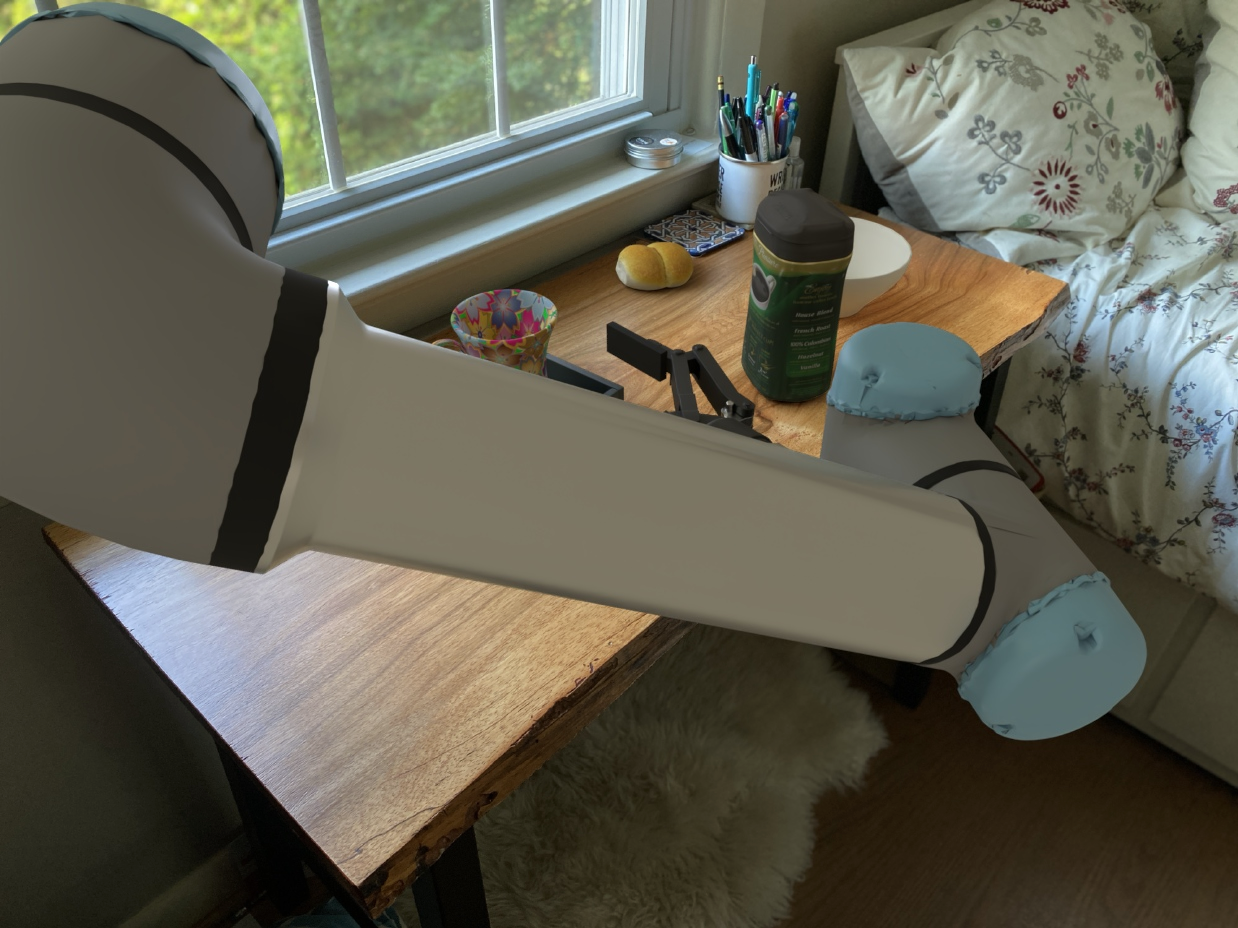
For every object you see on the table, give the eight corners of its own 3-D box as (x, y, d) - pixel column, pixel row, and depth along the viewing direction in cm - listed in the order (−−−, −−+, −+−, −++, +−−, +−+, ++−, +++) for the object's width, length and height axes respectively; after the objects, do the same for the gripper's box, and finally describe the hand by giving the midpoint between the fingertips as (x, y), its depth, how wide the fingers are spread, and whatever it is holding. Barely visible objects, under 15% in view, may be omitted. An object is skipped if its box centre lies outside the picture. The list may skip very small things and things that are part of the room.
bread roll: (703, 285, 109) (705, 254, 106) (630, 297, 107) (630, 265, 104) (677, 255, 115) (678, 225, 112) (608, 266, 113) (607, 235, 110)
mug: (543, 377, 92) (537, 281, 86) (577, 428, 86) (573, 328, 79) (424, 405, 89) (408, 306, 82) (450, 460, 82) (434, 358, 75)
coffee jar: (841, 399, 90) (873, 218, 79) (765, 411, 89) (786, 228, 77) (802, 349, 98) (826, 176, 86) (730, 359, 96) (745, 185, 85)
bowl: (768, 263, 113) (774, 208, 109) (903, 279, 110) (914, 223, 105) (746, 327, 101) (751, 268, 97) (897, 347, 98) (910, 287, 93)
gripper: (611, 619, 59) (425, 466, 72) (847, 455, 73) (655, 350, 85) (611, 532, 55) (411, 385, 67) (862, 374, 68) (658, 275, 80)
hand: (547, 365), depth 76 cm, fingers open, 13 cm apart
